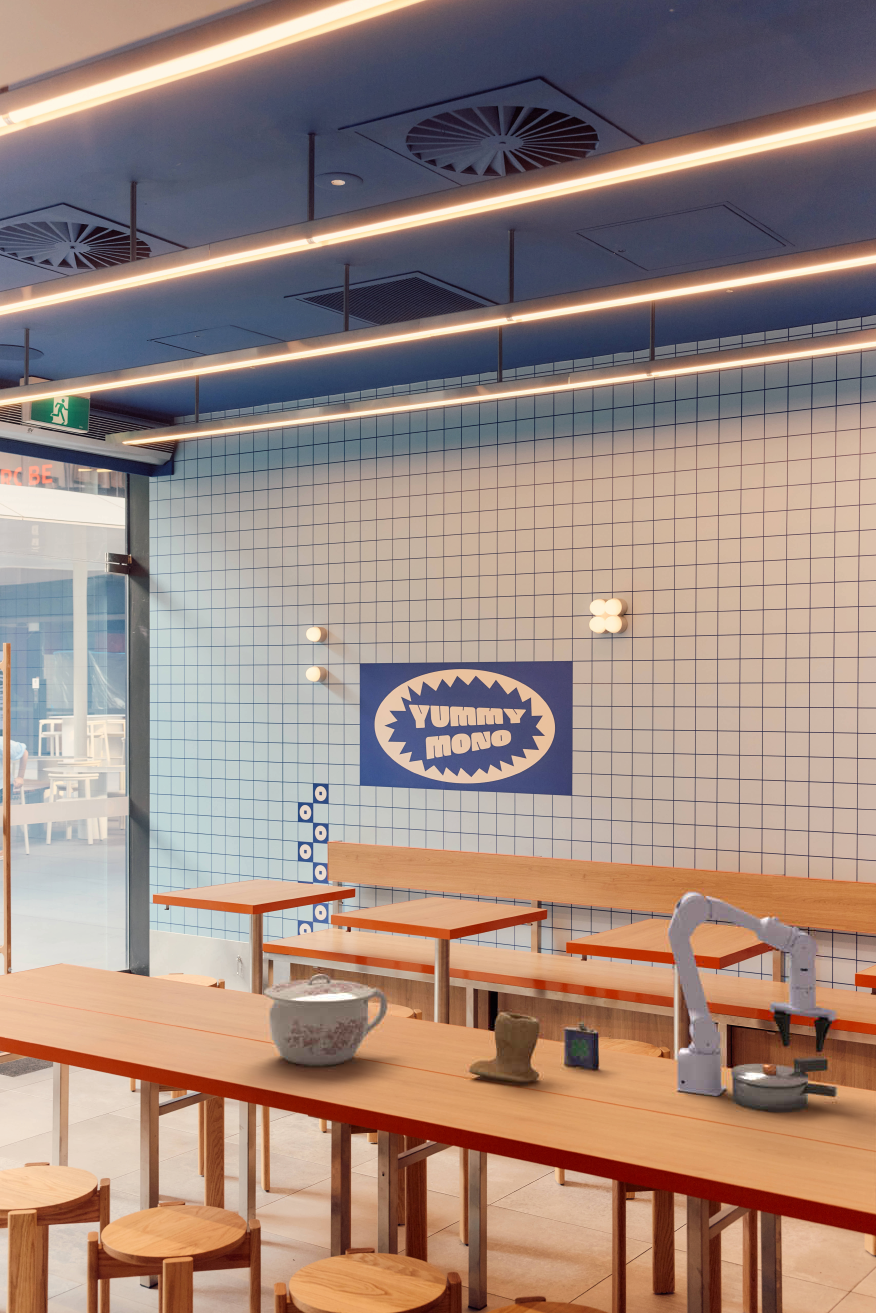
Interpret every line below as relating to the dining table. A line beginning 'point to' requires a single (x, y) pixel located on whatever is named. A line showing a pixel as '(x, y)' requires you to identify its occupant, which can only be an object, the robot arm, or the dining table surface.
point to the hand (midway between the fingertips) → (802, 1048)
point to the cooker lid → (779, 1073)
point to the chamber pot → (321, 1019)
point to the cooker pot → (777, 1096)
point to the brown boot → (511, 1049)
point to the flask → (581, 1047)
